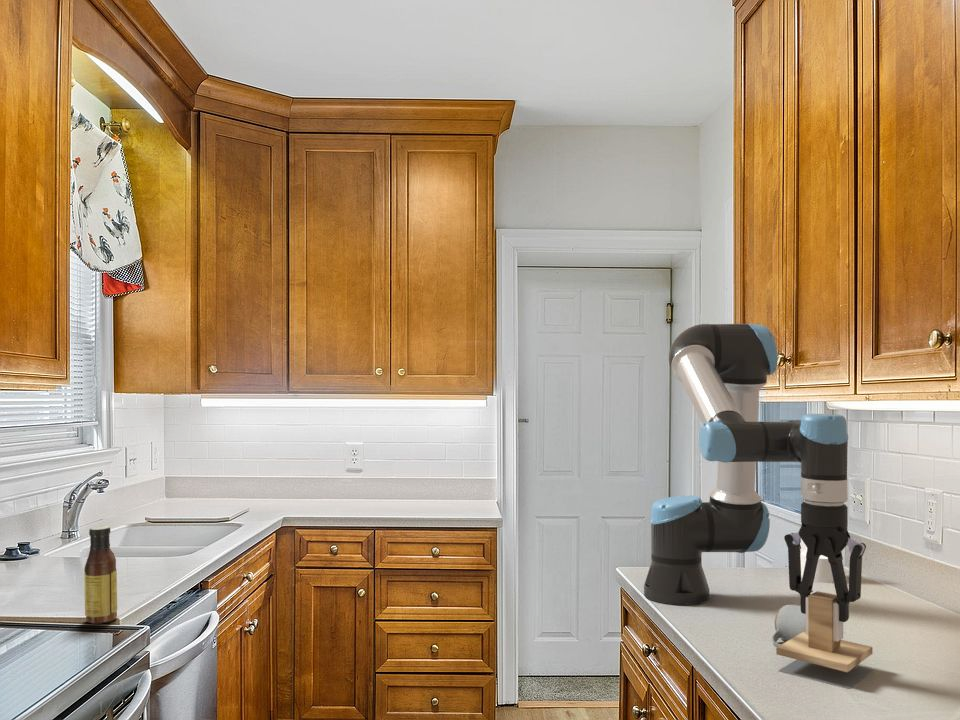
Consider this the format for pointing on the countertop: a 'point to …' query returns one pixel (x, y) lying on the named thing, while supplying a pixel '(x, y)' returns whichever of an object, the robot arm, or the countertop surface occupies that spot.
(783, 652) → the wooden plaque with block
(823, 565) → the base with upright slab
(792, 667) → the mat
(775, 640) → the ceramic mug
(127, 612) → the countertop surface
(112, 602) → the sauce bottle
